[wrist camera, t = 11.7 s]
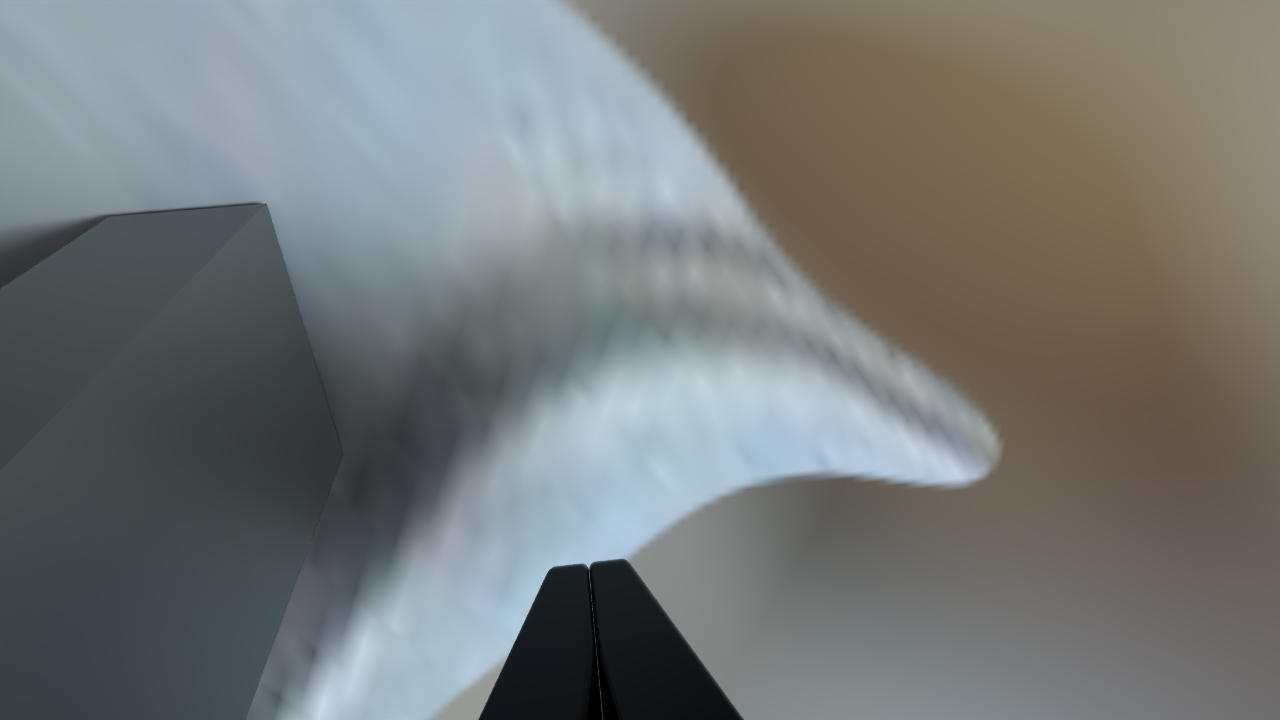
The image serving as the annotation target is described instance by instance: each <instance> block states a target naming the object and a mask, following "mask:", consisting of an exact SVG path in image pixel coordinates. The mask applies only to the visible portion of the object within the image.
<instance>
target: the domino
mask: <svg viewBox="0 0 1280 720" xmlns="http://www.w3.org/2000/svg"><path fill="white" fill-rule="evenodd" d="M342 456H343V453H342V449H341V446H340V443H339V440H338V436H337V433H336V430H335V427H334V423H333V420H332V417H331V413H330V410H329V407H328V404H327V400H326V397H325V394H324V390H323V387H322V384H321V381H320V377H319V374H318V371H317V367H316V364H315V361H314V358H313V354H312V351H311V348H310V345H309V341H308V338H307V335H306V331H305V328H304V325H303V322H302V318H301V315H300V312H299V308H298V305H297V302H296V299H295V295H294V292H293V289H292V286H291V282H290V279H289V276H288V272H287V269H286V266H285V263H284V259H283V256H282V253H281V249H280V246H279V243H278V240H277V236H276V233H275V230H274V226H273V223H272V220H271V217H270V213H269V210H268V207H267V204H255V205H243V206H231V207H219V208H206V209H194V210H182V211H170V212H158V213H146V214H133V215H121V216H109V217H108V218H106V219H105V220H103V221H102V222H100V223H99V224H97V225H96V226H94V227H93V228H91V229H90V230H88V231H86V232H85V233H83V234H82V235H80V236H79V237H77V238H76V239H74V240H73V241H71V242H70V243H68V244H67V245H65V246H64V247H62V248H61V249H59V250H58V251H56V252H55V253H53V254H52V255H50V256H49V257H47V258H46V259H44V260H43V261H41V262H40V263H38V264H37V265H35V266H34V267H32V268H31V269H29V270H28V271H26V272H25V273H23V274H22V275H20V276H19V277H17V278H16V279H14V280H12V281H11V282H9V283H8V284H6V285H5V286H3V287H2V288H0V720H245V719H246V717H247V714H248V711H249V708H250V706H251V703H252V700H253V698H254V695H255V692H256V689H257V687H258V684H259V681H260V679H261V676H262V673H263V670H264V668H265V665H266V662H267V660H268V657H269V654H270V651H271V649H272V646H273V643H274V641H275V638H276V635H277V632H278V630H279V627H280V624H281V622H282V619H283V616H284V613H285V611H286V608H287V605H288V603H289V600H290V597H291V594H292V592H293V589H294V586H295V584H296V581H297V578H298V575H299V573H300V570H301V567H302V565H303V562H304V559H305V556H306V554H307V551H308V548H309V546H310V543H311V540H312V537H313V535H314V532H315V529H316V527H317V524H318V521H319V519H320V516H321V513H322V510H323V508H324V505H325V502H326V500H327V497H328V494H329V491H330V489H331V486H332V483H333V481H334V478H335V475H336V472H337V470H338V467H339V464H340V462H341V459H342Z"/></svg>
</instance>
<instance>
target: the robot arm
mask: <svg viewBox="0 0 1280 720" xmlns="http://www.w3.org/2000/svg"><path fill="white" fill-rule="evenodd" d="M589 573H590V578H589ZM590 584H591V589H590ZM591 595H592V599H591ZM592 606H593V610H592ZM593 617H594V621H593ZM594 628H595V631H594ZM595 639H596V642H595ZM596 649H597V653H596ZM597 660H598V664H597ZM598 671H599V675H598ZM599 681H600V686H599ZM600 692H601V696H600ZM601 703H602V708H601ZM602 713H603V718H602ZM479 720H744V719H743V718H742V716H741V715H740V714H739V712H738V711H737V710H736V708H735V707H734V705H733V704H732V703H731V701H730V700H729V699H728V697H727V696H726V694H725V693H724V692H723V690H722V689H721V688H720V686H719V685H718V684H717V682H716V681H715V679H714V678H713V677H712V675H711V674H710V672H709V671H708V670H707V668H706V667H705V666H704V664H703V663H702V661H701V660H700V659H699V658H698V656H697V655H696V653H695V652H694V651H693V649H692V648H691V646H690V645H689V644H688V642H687V641H686V640H685V638H684V637H683V635H682V634H681V633H680V631H679V630H678V629H677V627H676V626H675V624H674V623H673V622H672V620H671V619H670V618H669V616H668V615H667V613H666V612H665V611H664V610H663V608H662V607H661V605H660V604H659V602H658V601H657V600H656V599H655V597H654V596H653V594H652V593H651V591H650V590H649V589H648V587H647V586H646V585H645V583H644V582H643V581H642V579H641V578H640V576H639V575H638V574H637V572H636V571H635V570H634V568H633V567H632V566H631V564H630V563H629V562H628V561H627V560H624V559H616V560H607V561H598V562H593V563H592V564H591V565H590V567H589V569H588V567H587V566H586V565H585V564H573V565H565V566H556V567H553V568H551V569H550V570H549V571H548V573H547V575H546V577H545V579H544V581H543V583H542V585H541V587H540V589H539V592H538V594H537V596H536V598H535V600H534V602H533V604H532V607H531V609H530V611H529V613H528V615H527V617H526V619H525V621H524V624H523V626H522V628H521V630H520V632H519V634H518V636H517V638H516V641H515V643H514V645H513V647H512V649H511V651H510V653H509V656H508V658H507V660H506V662H505V664H504V666H503V668H502V671H501V673H500V675H499V677H498V679H497V681H496V683H495V686H494V688H493V690H492V692H491V694H490V696H489V698H488V700H487V702H486V705H485V707H484V709H483V711H482V713H481V715H480V718H479Z"/></svg>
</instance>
